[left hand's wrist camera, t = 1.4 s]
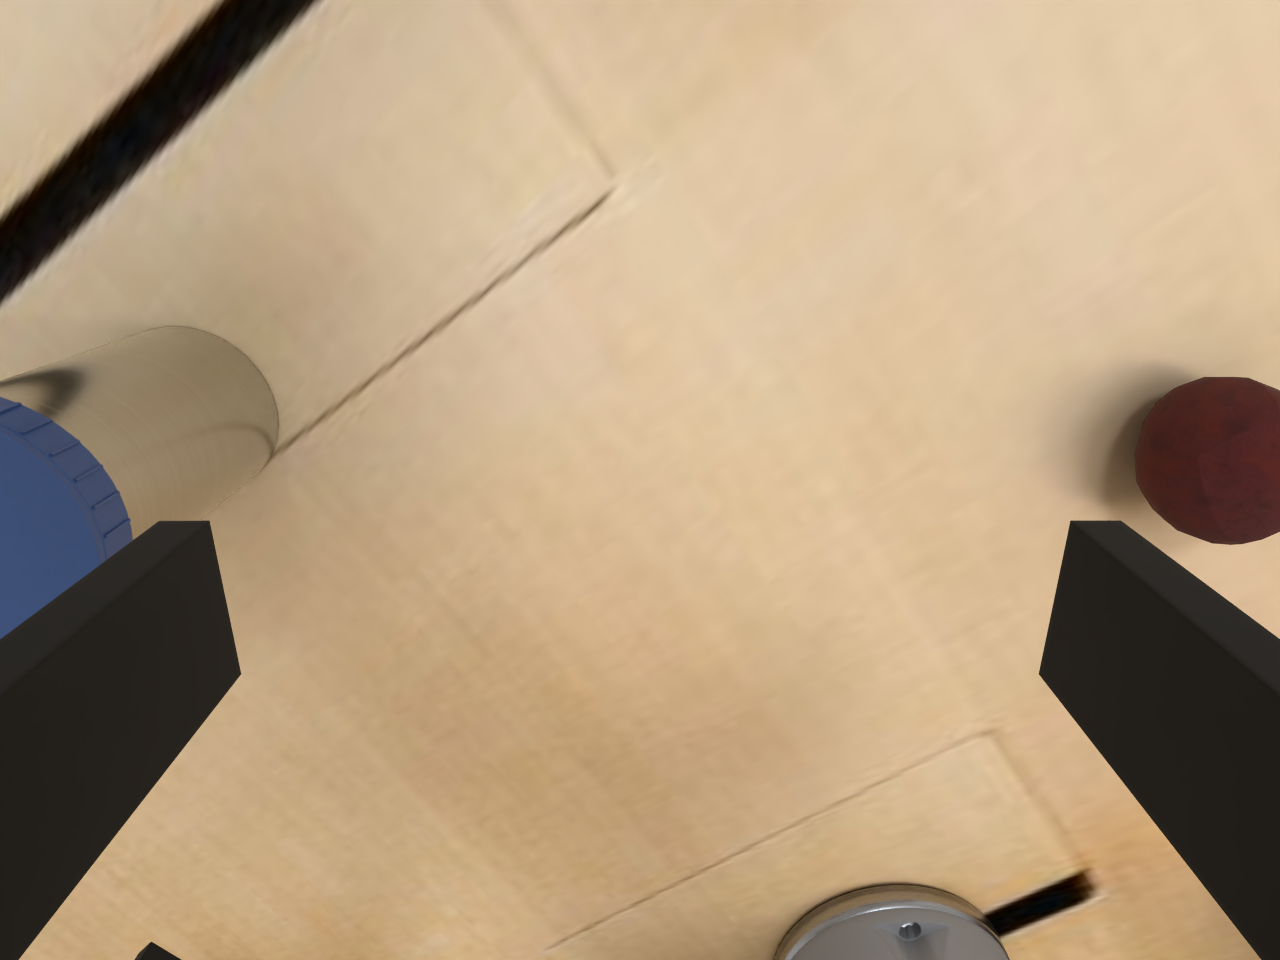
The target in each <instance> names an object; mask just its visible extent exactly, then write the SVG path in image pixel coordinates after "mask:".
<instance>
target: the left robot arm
mask: <svg viewBox="0 0 1280 960" xmlns="http://www.w3.org/2000/svg"><path fill="white" fill-rule="evenodd" d="M240 675H241V671H240V666H239V661H238V657H237V652H236V647H235V642H234V637H233V632H232V628H231V623H230V618H229V613H228V608H227V603H226V599H225V594H224V589H223V584H222V579H221V574H220V570H219V565H218V560H217V555H216V550H215V545H214V541H213V536H212V531H211V526H210V521H158V522H157V523H155V524H154V525H153V526H151V527H150V528H149V529H147V530H146V531H145V532H143V533H142V534H141V535H139V536H138V537H137V538H135V539H134V540H133V541H131V542H130V543H129V544H127V545H126V546H125V547H123V548H122V549H121V550H119V551H118V552H117V553H115V554H114V555H113V556H111V557H110V558H109V559H107V560H106V561H105V562H103V563H102V564H100V565H99V566H98V567H96V568H95V569H94V570H92V571H91V572H90V573H88V574H87V575H86V576H84V577H83V578H82V579H80V580H79V581H78V582H76V583H75V584H74V585H72V586H71V587H70V588H68V589H67V590H66V591H64V592H63V593H62V594H60V595H59V596H58V597H56V598H55V599H54V600H52V601H51V602H50V603H48V604H47V605H45V606H44V607H43V608H41V609H40V610H39V611H37V612H36V613H35V614H33V615H32V616H31V617H29V618H28V619H27V620H25V621H24V622H23V623H21V624H20V625H19V626H17V627H16V628H15V629H13V630H12V631H11V632H9V633H8V634H7V635H5V636H4V637H3V638H1V639H0V960H19V958H20V957H21V956H22V955H23V953H24V952H25V951H26V949H27V948H28V947H29V946H30V944H31V943H32V942H33V940H34V939H35V938H36V937H37V935H38V934H39V933H40V931H41V930H42V929H43V928H44V926H45V925H46V924H47V922H48V921H49V920H50V919H51V917H52V916H53V915H54V913H55V912H56V911H57V910H58V908H59V907H60V906H61V905H62V903H63V902H64V901H65V899H66V898H67V897H68V896H69V894H70V893H71V892H72V890H73V889H74V888H75V887H76V885H77V884H78V883H79V881H80V880H81V879H82V878H83V876H84V875H85V874H86V872H87V871H88V870H89V869H90V867H91V866H92V865H93V863H94V862H95V861H96V860H97V858H98V857H99V856H100V854H101V853H102V852H103V851H104V849H105V848H106V847H107V845H108V844H109V843H110V842H111V840H112V839H113V838H114V837H115V835H116V834H117V833H118V831H119V830H120V829H121V828H122V826H123V825H124V824H125V822H126V821H127V820H128V819H129V817H130V816H131V815H132V813H133V812H134V811H135V810H136V808H137V807H138V806H139V804H140V803H141V802H142V801H143V799H144V798H145V797H146V795H147V794H148V793H149V792H150V790H151V789H152V788H153V786H154V785H155V784H156V783H157V781H158V780H159V779H160V777H161V776H162V775H163V774H164V772H165V771H166V770H167V769H168V767H169V766H170V765H171V763H172V762H173V761H174V760H175V758H176V757H177V756H178V754H179V753H180V752H181V751H182V749H183V748H184V747H185V745H186V744H187V743H188V742H189V740H190V739H191V738H192V736H193V735H194V734H195V733H196V731H197V730H198V729H199V727H200V726H201V725H202V724H203V722H204V721H205V720H206V718H207V717H208V716H209V715H210V713H211V712H212V711H213V709H214V708H215V707H216V706H217V704H218V703H219V702H220V700H221V699H222V698H223V697H224V695H225V694H226V693H227V692H228V690H229V689H230V688H231V686H232V685H233V684H234V683H235V681H236V680H237V679H238V677H239V676H240ZM1039 675H1040V676H1041V677H1042V679H1043V680H1044V681H1045V683H1046V684H1047V685H1048V686H1049V688H1050V689H1051V690H1052V692H1053V693H1054V694H1055V695H1056V697H1057V698H1058V699H1059V701H1060V702H1061V703H1062V704H1063V706H1064V707H1065V708H1066V709H1067V711H1068V712H1069V713H1070V715H1071V716H1072V717H1073V718H1074V720H1075V721H1076V722H1077V724H1078V725H1079V726H1080V727H1081V729H1082V730H1083V731H1084V733H1085V734H1086V735H1087V736H1088V738H1089V739H1090V740H1091V742H1092V743H1093V744H1094V745H1095V747H1096V748H1097V749H1098V751H1099V752H1100V753H1101V754H1102V756H1103V757H1104V758H1105V760H1106V761H1107V762H1108V763H1109V765H1110V766H1111V767H1112V769H1113V770H1114V771H1115V772H1116V774H1117V775H1118V776H1119V777H1120V779H1121V780H1122V781H1123V783H1124V784H1125V785H1126V786H1127V788H1128V789H1129V790H1130V792H1131V793H1132V794H1133V795H1134V797H1135V798H1136V799H1137V801H1138V802H1139V803H1140V804H1141V806H1142V807H1143V808H1144V810H1145V811H1146V812H1147V813H1148V815H1149V816H1150V817H1151V819H1152V820H1153V821H1154V822H1155V824H1156V825H1157V826H1158V828H1159V829H1160V830H1161V831H1162V833H1163V834H1164V835H1165V837H1166V838H1167V839H1168V840H1169V842H1170V843H1171V844H1172V845H1173V847H1174V848H1175V849H1176V851H1177V852H1178V853H1179V854H1180V856H1181V857H1182V858H1183V860H1184V861H1185V862H1186V863H1187V865H1188V866H1189V867H1190V869H1191V870H1192V871H1193V872H1194V874H1195V875H1196V876H1197V878H1198V879H1199V880H1200V881H1201V883H1202V884H1203V885H1204V887H1205V888H1206V889H1207V890H1208V892H1209V893H1210V894H1211V896H1212V897H1213V898H1214V899H1215V901H1216V902H1217V903H1218V905H1219V906H1220V907H1221V908H1222V910H1223V911H1224V912H1225V913H1226V915H1227V916H1228V917H1229V919H1230V920H1231V921H1232V922H1233V924H1234V925H1235V926H1236V928H1237V929H1238V930H1239V931H1240V933H1241V934H1242V935H1243V937H1244V938H1245V939H1246V940H1247V942H1248V943H1249V944H1250V946H1251V947H1252V948H1253V949H1254V951H1255V952H1256V953H1257V955H1258V956H1259V957H1260V958H1261V960H1280V639H1279V638H1277V637H1276V636H1275V635H1273V634H1272V633H1271V632H1269V631H1268V630H1267V629H1265V628H1264V627H1263V626H1261V625H1260V624H1259V623H1257V622H1256V621H1255V620H1253V619H1252V618H1251V617H1249V616H1248V615H1247V614H1245V613H1244V612H1243V611H1241V610H1240V609H1239V608H1237V607H1236V606H1235V605H1233V604H1232V603H1230V602H1229V601H1228V600H1226V599H1225V598H1224V597H1222V596H1221V595H1220V594H1218V593H1217V592H1216V591H1214V590H1213V589H1212V588H1210V587H1209V586H1208V585H1206V584H1205V583H1204V582H1202V581H1201V580H1200V579H1198V578H1197V577H1196V576H1194V575H1193V574H1192V573H1190V572H1189V571H1188V570H1186V569H1185V568H1184V567H1182V566H1181V565H1180V564H1178V563H1177V562H1175V561H1174V560H1173V559H1171V558H1170V557H1169V556H1167V555H1166V554H1165V553H1163V552H1162V551H1161V550H1159V549H1158V548H1157V547H1155V546H1154V545H1153V544H1151V543H1150V542H1149V541H1147V540H1146V539H1145V538H1143V537H1142V536H1141V535H1139V534H1138V533H1137V532H1135V531H1134V530H1133V529H1131V528H1130V527H1129V526H1127V525H1126V524H1125V523H1123V522H1122V521H1070V526H1069V531H1068V536H1067V541H1066V545H1065V550H1064V555H1063V560H1062V565H1061V570H1060V574H1059V579H1058V584H1057V589H1056V594H1055V599H1054V603H1053V608H1052V613H1051V618H1050V623H1049V628H1048V632H1047V637H1046V642H1045V647H1044V652H1043V657H1042V661H1041V666H1040V671H1039Z"/></svg>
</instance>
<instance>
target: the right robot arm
mask: <svg viewBox="0 0 1280 960" xmlns="http://www.w3.org/2000/svg"><path fill="white" fill-rule="evenodd" d="M135 960H181V959H179V958H178V957H176V956H174V955H173V954H171V953H169V952H168V951H166V950H164V949H163V948H161V947H159V946H158V945H156V944H154V943H153V942H150V943H149V944H148V945H147V946H146V947H145V948H144V949H143V950H142V951H141V952H140V953H139V954H138V955H137V957H136V958H135ZM774 960H1009V957H1008V955H1007V953H1006V951H1005V949H1004V946H1003V944H1002V942H1001V940H1000V938H999V936H998V933H997V931H996V930H995V928H994V926H993V925H992V923H991V922H990V921H989V920H988V918H987V917H986V916H985V915H984V914H983V913H982V912H981V911H979V910H978V909H977V908H976V907H974V906H973V905H971V904H970V903H968V902H967V901H965V900H963V899H961V898H959V897H957V896H955V895H952V894H950V893H947V892H944V891H941V890H937V889H933V888H928V887H922V886H913V885H886V886H877V887H871V888H866V889H862V890H858V891H854V892H851V893H848V894H845V895H842V896H840V897H837V898H835V899H833V900H830V901H828V902H827V903H825V904H823V905H821V906H819V907H818V908H816V909H814V910H813V911H811V912H810V913H809V914H807V915H806V916H805V917H803V918H802V919H801V920H800V921H799V922H798V923H797V924H796V925H795V926H794V927H793V928H792V929H791V930H790V931H789V933H788V934H787V935H786V937H785V938H784V939H783V941H782V943H781V945H780V946H779V948H778V951H777V953H776V955H775V959H774Z"/></svg>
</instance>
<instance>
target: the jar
mask: <svg viewBox="0 0 1280 960" xmlns="http://www.w3.org/2000/svg"><path fill="white" fill-rule="evenodd" d="M0 397H3V398H5V399H8V400H11V401H14V402H16V403H17V402H20V403H22V405H24V406H26V407H28V408H30V409H32V410H34V411H36V412H38V413H40V414H42V415H44V416H45V417H47V418H51V419H52V420H53V422H55V423H57V424H58V425H59V426H61V427H62V428H63V429H65V430H66V431H67V432H69V433H70V434H71V435H73V436H74V437H75V438H76V439H79V440H80V441H81V442H80V443H81V444H83V445H84V446H85V447H86V448H87V449H88V450H89V451H90V452H91V453H92V455H93V456H94V457H95V458H96V459H97V460H98V462H99V463H100V464H102V465H103V468H104V469H105V471H106V472H107V474H108V475H109V476H110V478H111V479H112V481H113V482H114V484H115V486H116V488H117V490H118V491H120V495H121V497H122V500H123V502H124V505H125V508H126V510H127V513H128V516H129V519H131V522H130V524H131V528H132V536H133V540H134V539H135V538H137V537H138V536H139V535H141V534H142V533H143V532H145V531H146V530H147V529H149V528H150V527H151V526H153V525H154V524H155V523H157V522H158V521H200V520H201V519H202V518H204V517H205V516H206V515H207V514H209V513H210V512H211V511H212V510H213V509H215V508H216V507H217V506H218V505H220V504H221V503H222V502H223V501H224V500H226V499H227V498H228V497H229V496H231V495H232V494H233V493H234V492H236V491H237V490H238V489H239V488H240V487H242V486H243V485H244V484H245V483H247V482H248V481H249V480H250V479H252V478H253V477H254V476H255V475H256V474H258V473H259V472H260V471H261V469H262V468H263V467H264V466H265V465H266V463H267V462H268V460H269V459H270V457H271V455H272V453H273V450H274V448H275V444H276V440H277V435H278V415H277V409H276V404H275V401H274V398H273V395H272V393H271V390H270V388H269V386H268V384H267V382H266V381H265V379H264V377H263V375H262V374H261V373H260V371H259V370H258V369H257V367H256V366H255V365H254V364H253V363H252V362H251V361H250V360H249V359H248V358H247V357H246V356H245V355H244V354H243V353H242V352H241V351H239V350H238V349H237V348H236V347H234V346H233V345H231V344H230V343H228V342H227V341H225V340H223V339H221V338H219V337H217V336H215V335H212V334H210V333H207V332H204V331H201V330H197V329H193V328H187V327H161V328H155V329H152V330H148V331H145V332H142V333H139V334H136V335H133V336H130V337H128V338H125V339H122V340H119V341H116V342H113V343H110V344H107V345H104V346H101V347H98V348H95V349H92V350H90V351H87V352H84V353H81V354H78V355H75V356H72V357H69V358H66V359H63V360H60V361H57V362H54V363H52V364H49V365H46V366H43V367H40V368H37V369H34V370H31V371H28V372H25V373H22V374H19V375H16V376H14V377H11V378H8V379H5V380H2V381H0Z"/></svg>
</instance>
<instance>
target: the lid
mask: <svg viewBox="0 0 1280 960" xmlns="http://www.w3.org/2000/svg"><path fill="white" fill-rule="evenodd" d="M80 442H81V441H80V440H79V439H76V438H75V437H74V436H73V435H71V434H70V433H69V432H67V431H66V430H65V429H63V428H62V427H61V426H59V425H58V424H57V423H55V422H53V420H52V419H51V418H47V417H45V416H44V415H42V414H40V413H38V412H36V411H34V410H32V409H30V408H28V407H26V406H24V405H22V403H20V402H17V403H16V402H14V401H11V400H8V399H5V398H3V397H0V639H1V638H3V637H4V636H5V635H7V634H8V633H9V632H11V631H12V630H13V629H15V628H16V627H17V626H19V625H20V624H21V623H23V622H24V621H25V620H27V619H28V618H29V617H31V616H32V615H33V614H35V613H36V612H37V611H39V610H40V609H41V608H43V607H44V606H45V605H47V604H48V603H50V602H51V601H52V600H54V599H55V598H56V597H58V596H59V595H60V594H62V593H63V592H64V591H66V590H67V589H68V588H70V587H71V586H72V585H74V584H75V583H76V582H78V581H79V580H80V579H82V578H83V577H84V576H86V575H87V574H88V573H90V572H91V571H92V570H94V569H95V568H96V567H98V566H99V565H100V564H102V563H103V562H105V561H106V560H107V559H109V558H110V557H111V556H113V555H114V554H115V553H117V552H118V551H119V550H121V549H122V548H123V547H125V546H126V545H127V544H129V543H130V542H131V541H133V536H132V528H131V524H130V522H131V519H129V516H128V513H127V510H126V508H125V505H124V502H123V500H122V497H121V495H120V491H118V490H117V488H116V486H115V484H114V482H113V481H112V479H111V478H110V476H109V475H108V474H107V472H106V471H105V469H104V468H103V465H102V464H100V463H99V462H98V460H97V459H96V458H95V457H94V456H93V455H92V453H91V452H90V451H89V450H88V449H87V448H86V447H85V446H84V445H83V444H81V443H80Z"/></svg>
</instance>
